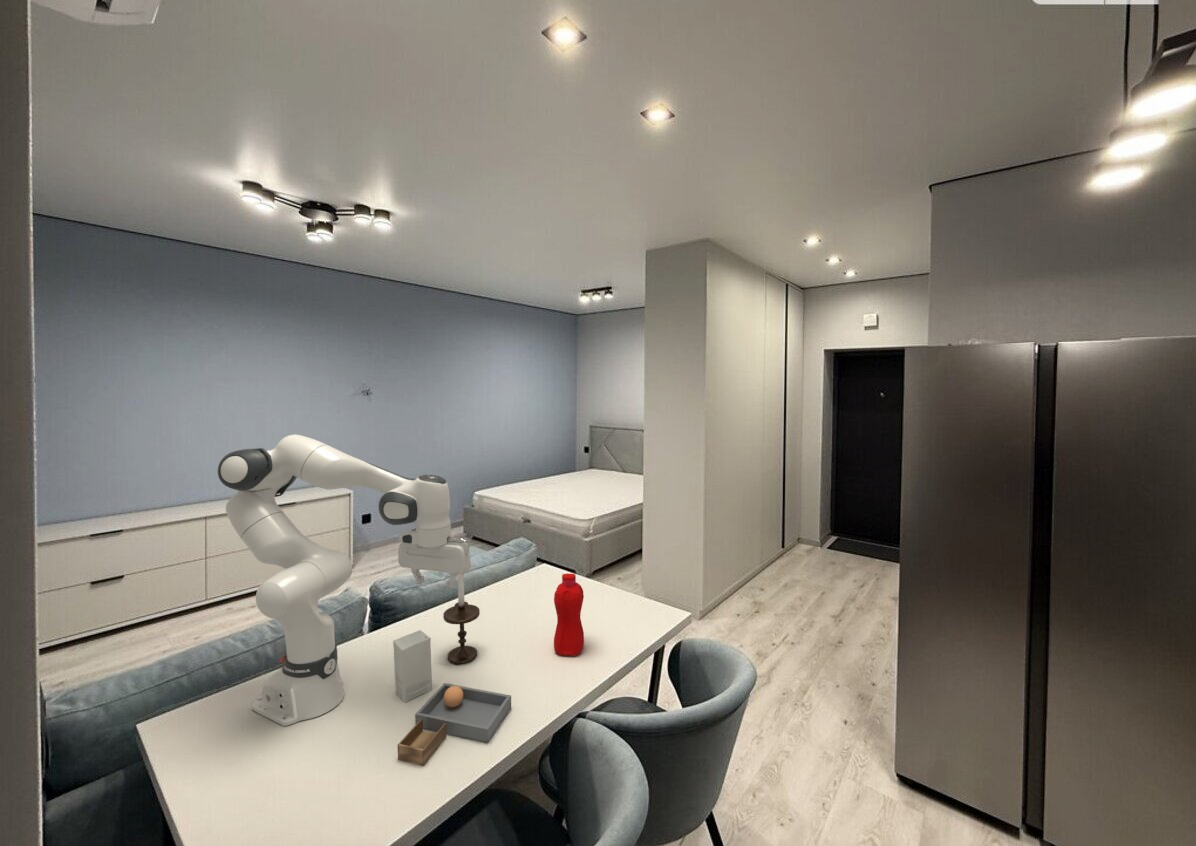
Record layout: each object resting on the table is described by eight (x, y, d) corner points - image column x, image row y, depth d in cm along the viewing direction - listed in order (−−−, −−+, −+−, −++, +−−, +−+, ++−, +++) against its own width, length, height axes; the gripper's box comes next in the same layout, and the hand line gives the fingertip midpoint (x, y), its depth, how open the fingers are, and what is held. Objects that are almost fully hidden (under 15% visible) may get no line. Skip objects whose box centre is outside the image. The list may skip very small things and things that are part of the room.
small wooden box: (398, 759, 112) (397, 744, 112) (421, 732, 121) (421, 718, 120) (423, 765, 110) (423, 750, 110) (446, 737, 119) (445, 723, 119)
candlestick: (478, 644, 160) (476, 540, 157) (481, 662, 150) (479, 552, 147) (444, 650, 157) (441, 544, 154) (444, 669, 147) (441, 556, 143)
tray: (415, 727, 122) (415, 714, 122) (444, 694, 135) (444, 682, 135) (488, 743, 117) (487, 729, 117) (511, 707, 130) (511, 695, 129)
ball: (450, 687, 133) (445, 708, 130) (444, 683, 129) (438, 704, 126) (468, 688, 133) (463, 709, 129) (461, 684, 129) (456, 706, 126)
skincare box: (423, 680, 141) (421, 628, 140) (433, 690, 137) (432, 637, 135) (394, 693, 136) (392, 639, 134) (404, 704, 131) (402, 649, 129)
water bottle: (585, 639, 163) (585, 567, 161) (581, 658, 153) (581, 581, 150) (558, 638, 164) (558, 566, 162) (552, 656, 154) (551, 579, 151)
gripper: (474, 535, 131) (475, 584, 133) (408, 528, 137) (410, 576, 138) (462, 542, 125) (463, 594, 127) (393, 536, 131) (395, 585, 132)
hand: (435, 585), depth 132 cm, fingers open, 8 cm apart
